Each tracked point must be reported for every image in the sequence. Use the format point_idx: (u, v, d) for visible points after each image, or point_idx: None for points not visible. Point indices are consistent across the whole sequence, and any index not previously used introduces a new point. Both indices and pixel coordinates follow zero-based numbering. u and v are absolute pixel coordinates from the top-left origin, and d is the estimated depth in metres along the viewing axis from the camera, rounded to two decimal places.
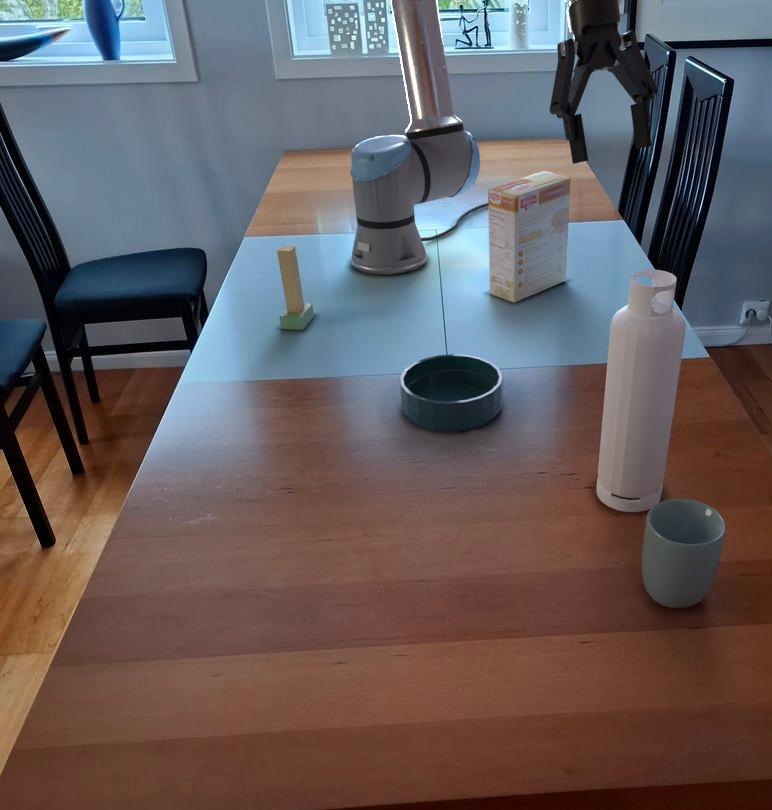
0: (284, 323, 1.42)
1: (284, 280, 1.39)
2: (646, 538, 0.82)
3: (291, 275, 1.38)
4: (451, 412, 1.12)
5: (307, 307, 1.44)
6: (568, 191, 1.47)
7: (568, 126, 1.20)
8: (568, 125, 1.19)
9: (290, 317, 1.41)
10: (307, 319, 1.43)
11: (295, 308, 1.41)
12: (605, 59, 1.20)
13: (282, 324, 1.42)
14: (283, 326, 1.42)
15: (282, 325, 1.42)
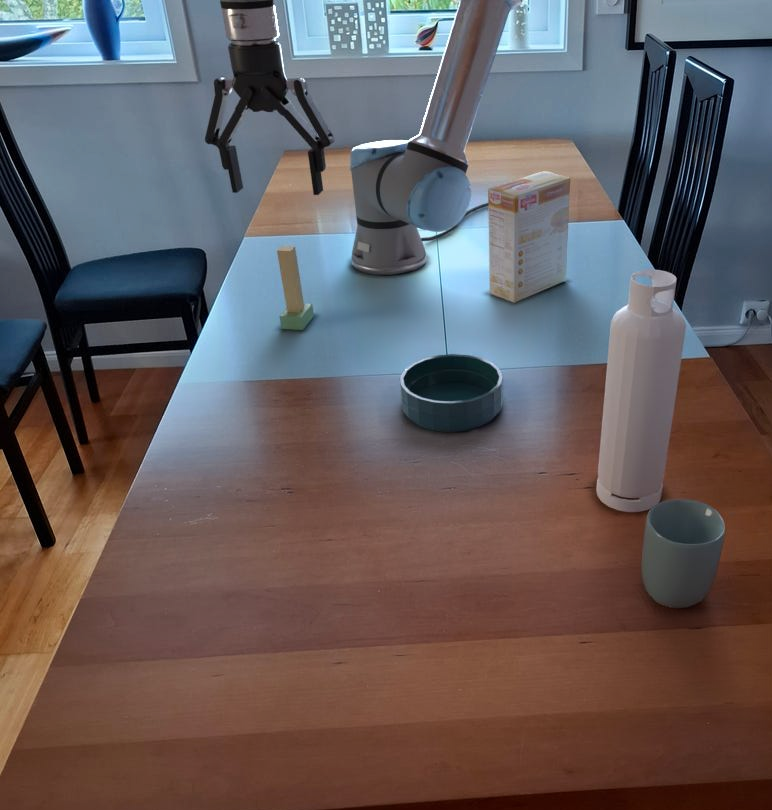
0: (284, 323, 1.42)
1: (284, 280, 1.39)
2: (646, 538, 0.82)
3: (291, 275, 1.38)
4: (451, 412, 1.12)
5: (307, 307, 1.44)
6: (568, 191, 1.47)
7: None
8: None
9: (290, 317, 1.41)
10: (307, 319, 1.43)
11: (295, 308, 1.41)
12: (261, 104, 1.22)
13: (282, 324, 1.42)
14: (283, 326, 1.42)
15: (282, 325, 1.42)
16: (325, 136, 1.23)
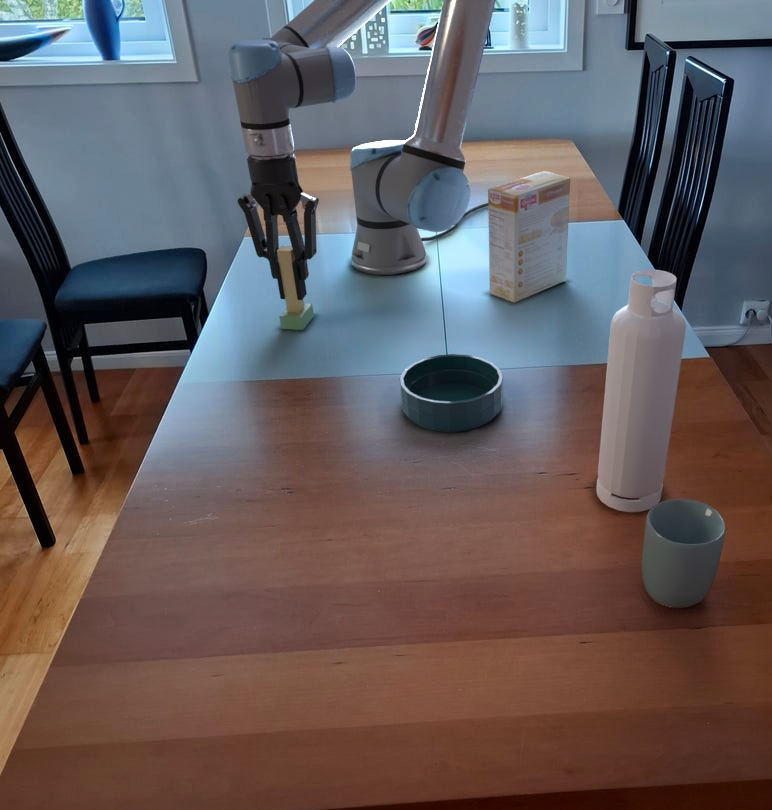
0: (284, 323, 1.42)
1: (284, 280, 1.39)
2: (646, 538, 0.82)
3: (291, 275, 1.38)
4: (451, 412, 1.12)
5: (307, 307, 1.44)
6: (568, 191, 1.47)
7: None
8: None
9: (290, 317, 1.41)
10: (307, 319, 1.43)
11: (295, 308, 1.41)
12: (277, 209, 1.31)
13: (282, 324, 1.42)
14: (283, 326, 1.42)
15: (282, 325, 1.42)
16: (310, 251, 1.35)
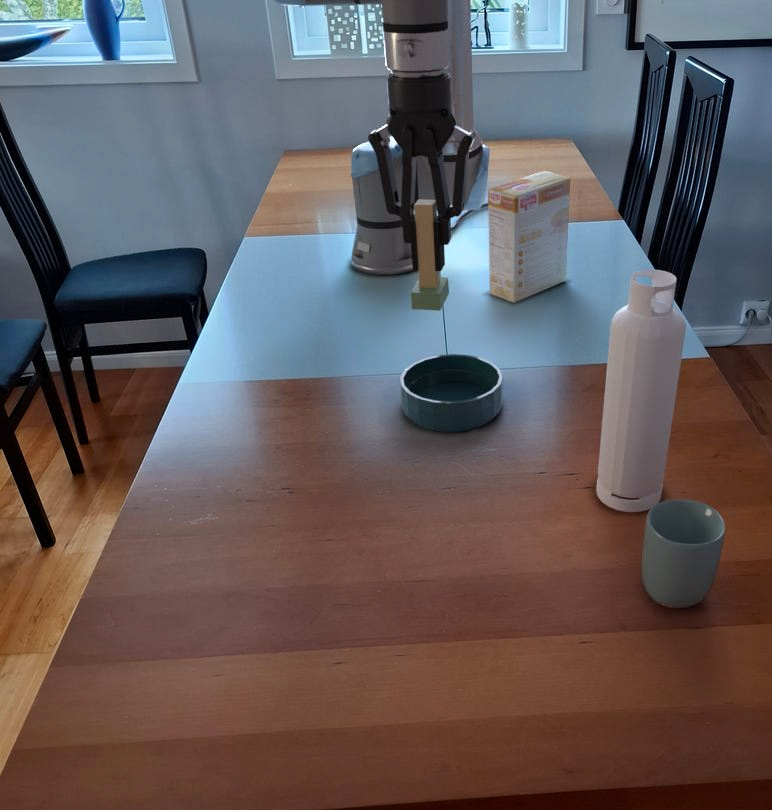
0: (416, 302, 1.09)
1: (420, 245, 1.06)
2: (646, 538, 0.82)
3: (430, 238, 1.06)
4: (451, 412, 1.12)
5: (443, 281, 1.11)
6: (568, 191, 1.47)
7: None
8: None
9: (425, 293, 1.08)
10: (444, 297, 1.11)
11: (430, 282, 1.09)
12: (420, 147, 0.99)
13: (413, 303, 1.09)
14: (414, 305, 1.10)
15: (413, 304, 1.10)
16: (459, 206, 1.02)
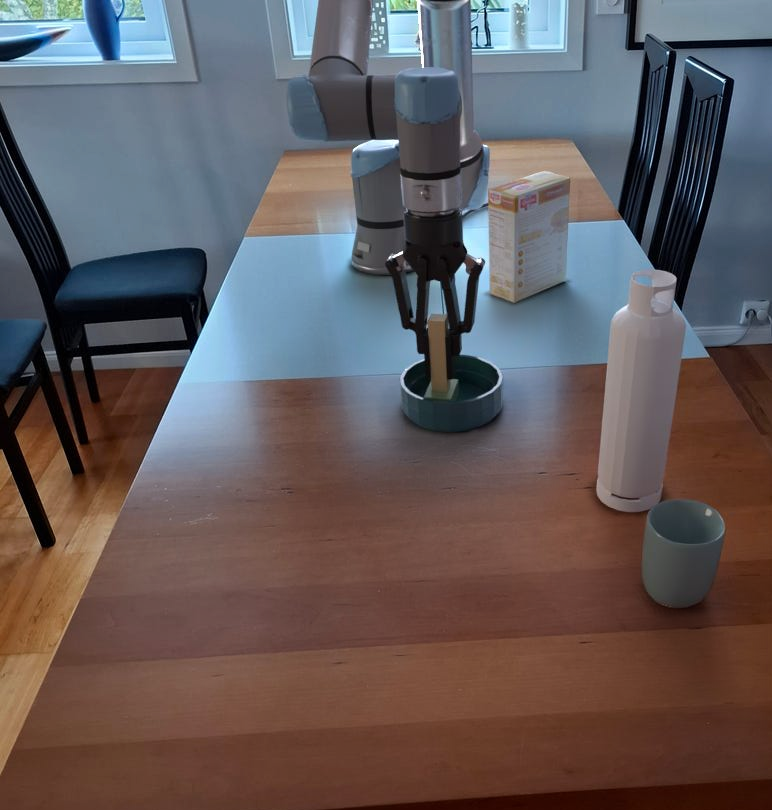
0: None
1: (432, 355, 1.13)
2: (646, 538, 0.82)
3: (442, 349, 1.13)
4: (451, 412, 1.12)
5: (454, 384, 1.19)
6: (568, 191, 1.47)
7: None
8: None
9: (437, 398, 1.15)
10: (454, 399, 1.18)
11: (442, 387, 1.16)
12: (434, 273, 1.06)
13: None
14: None
15: None
16: (470, 324, 1.10)
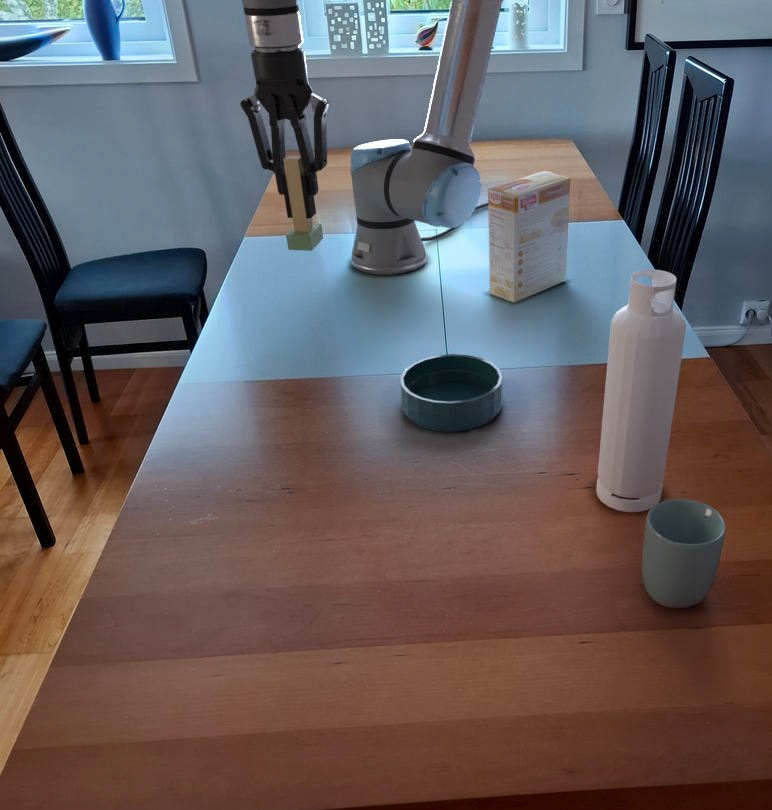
0: (291, 243, 1.29)
1: (291, 194, 1.26)
2: (646, 538, 0.82)
3: (299, 188, 1.25)
4: (451, 412, 1.12)
5: (316, 227, 1.31)
6: (568, 191, 1.47)
7: None
8: None
9: (298, 236, 1.28)
10: (316, 240, 1.31)
11: (303, 226, 1.29)
12: (284, 112, 1.19)
13: (289, 244, 1.29)
14: (290, 247, 1.30)
15: (289, 245, 1.29)
16: (321, 161, 1.23)
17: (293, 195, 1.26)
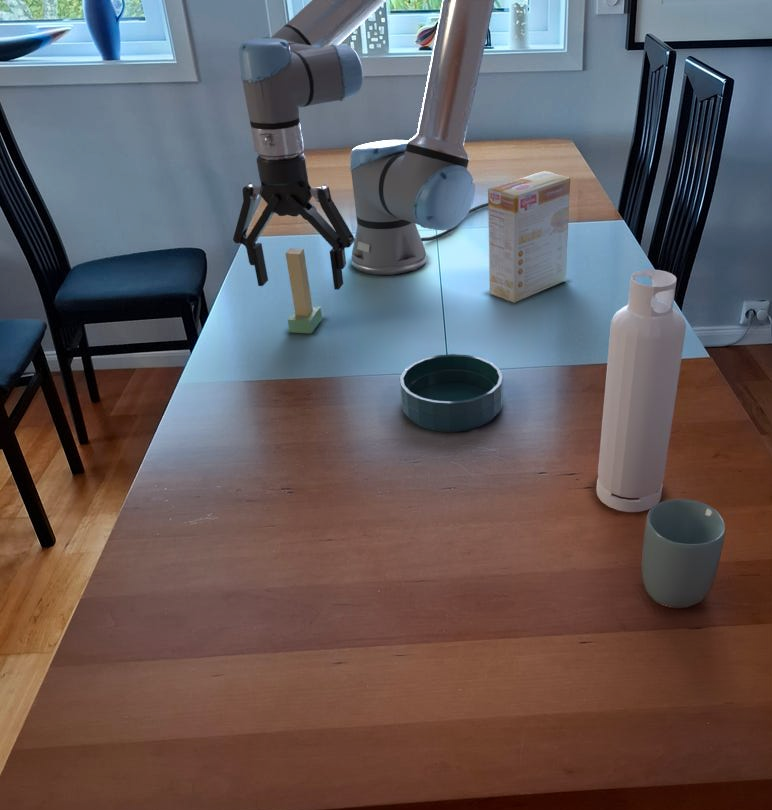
0: (292, 327, 1.40)
1: (293, 283, 1.37)
2: (646, 538, 0.82)
3: (300, 278, 1.37)
4: (451, 412, 1.12)
5: (315, 310, 1.43)
6: (568, 191, 1.47)
7: None
8: None
9: (298, 320, 1.39)
10: (315, 322, 1.42)
11: (303, 311, 1.40)
12: (286, 209, 1.30)
13: (290, 327, 1.41)
14: (291, 329, 1.41)
15: (290, 328, 1.41)
16: (346, 238, 1.31)
17: (294, 284, 1.37)
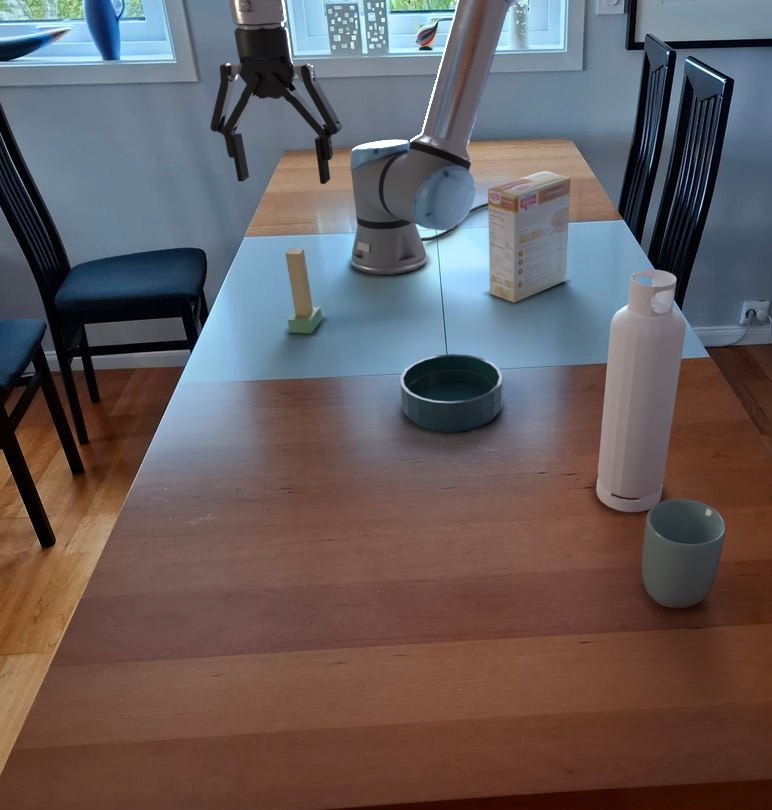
0: (292, 327, 1.40)
1: (292, 283, 1.37)
2: (646, 538, 0.82)
3: (300, 278, 1.37)
4: (451, 412, 1.12)
5: (315, 310, 1.43)
6: (568, 191, 1.47)
7: None
8: None
9: (298, 320, 1.39)
10: (315, 322, 1.42)
11: (303, 311, 1.40)
12: (267, 90, 1.20)
13: (290, 327, 1.41)
14: (291, 329, 1.41)
15: (290, 328, 1.41)
16: (332, 123, 1.21)
17: (294, 284, 1.37)
